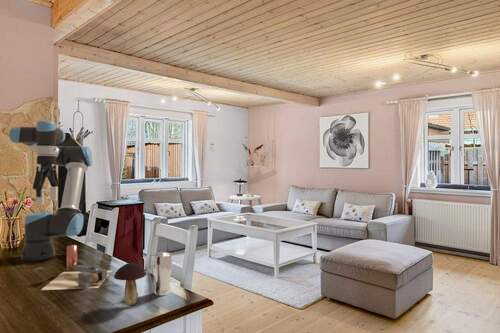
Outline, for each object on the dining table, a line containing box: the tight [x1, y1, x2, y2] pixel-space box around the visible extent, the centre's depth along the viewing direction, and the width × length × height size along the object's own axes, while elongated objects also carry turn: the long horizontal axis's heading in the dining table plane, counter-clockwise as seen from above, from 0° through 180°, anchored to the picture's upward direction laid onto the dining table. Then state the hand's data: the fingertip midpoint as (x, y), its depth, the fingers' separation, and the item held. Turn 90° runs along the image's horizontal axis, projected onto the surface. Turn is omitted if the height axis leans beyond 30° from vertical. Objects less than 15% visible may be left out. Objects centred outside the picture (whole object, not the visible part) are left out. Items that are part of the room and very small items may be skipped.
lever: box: [66, 244, 108, 280], centre depth 146 cm, size 5×22×11 cm, turn 65°
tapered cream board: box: [40, 269, 113, 291], centre depth 143 cm, size 21×21×6 cm
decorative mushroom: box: [113, 262, 148, 306], centre depth 122 cm, size 11×11×15 cm
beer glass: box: [152, 251, 173, 297], centre depth 133 cm, size 7×7×15 cm
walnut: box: [92, 273, 99, 283], centre depth 139 cm, size 4×4×4 cm
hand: (46, 202), depth 156 cm, fingers open, 13 cm apart
